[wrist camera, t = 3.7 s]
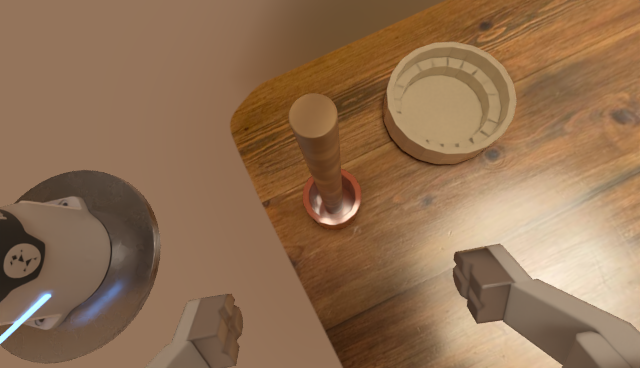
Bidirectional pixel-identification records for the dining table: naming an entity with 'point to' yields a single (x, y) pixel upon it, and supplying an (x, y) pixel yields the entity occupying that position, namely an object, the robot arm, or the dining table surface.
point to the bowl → (448, 102)
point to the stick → (320, 145)
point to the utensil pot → (318, 209)
